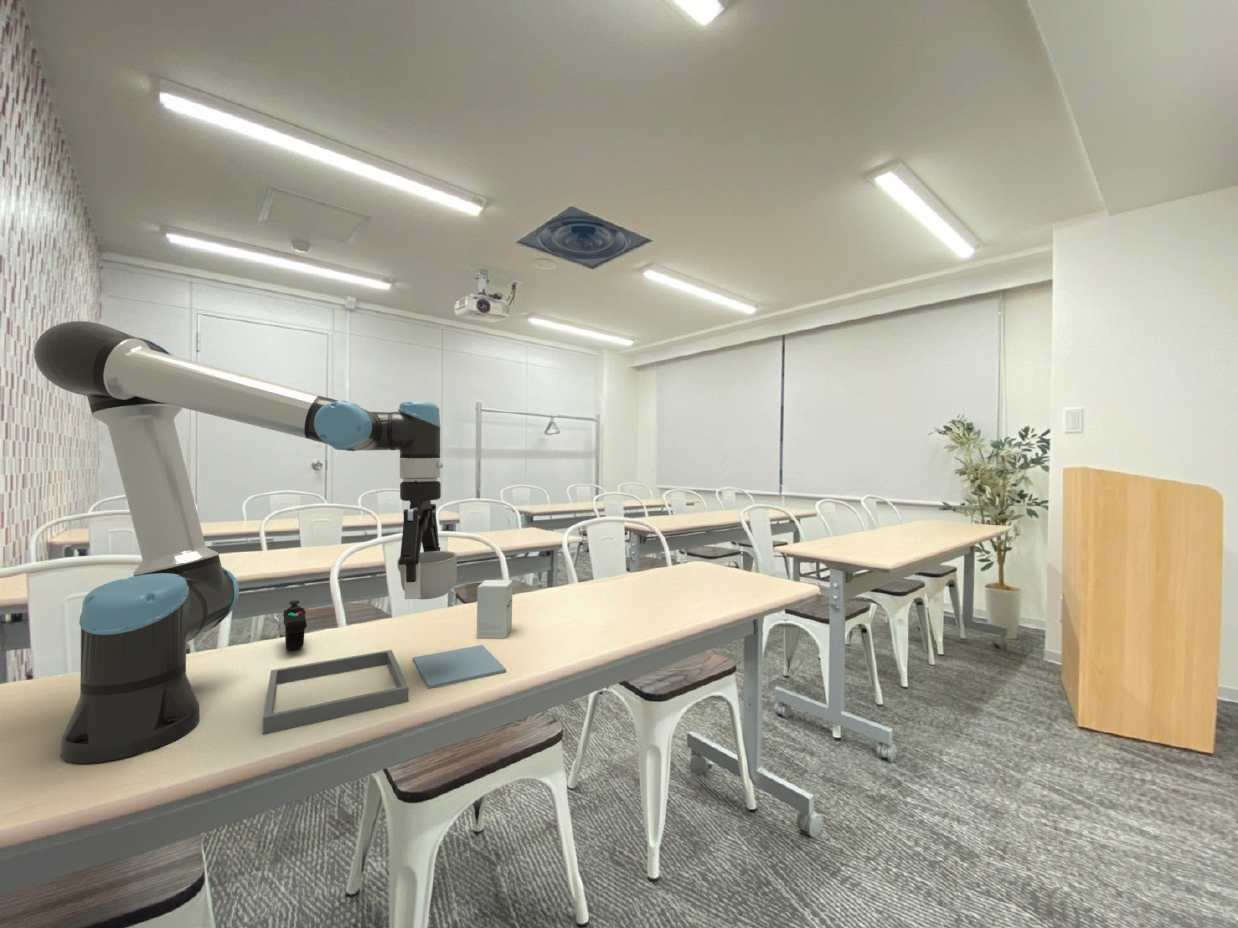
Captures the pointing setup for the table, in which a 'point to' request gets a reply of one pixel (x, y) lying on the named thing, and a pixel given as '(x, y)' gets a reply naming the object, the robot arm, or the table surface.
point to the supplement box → (494, 609)
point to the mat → (457, 666)
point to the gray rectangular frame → (335, 707)
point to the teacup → (435, 573)
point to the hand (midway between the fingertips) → (421, 590)
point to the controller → (294, 625)
